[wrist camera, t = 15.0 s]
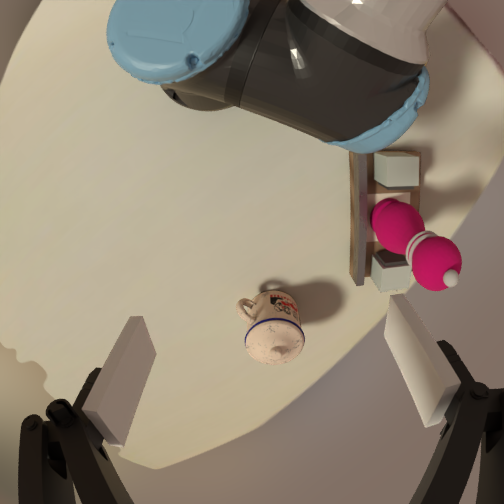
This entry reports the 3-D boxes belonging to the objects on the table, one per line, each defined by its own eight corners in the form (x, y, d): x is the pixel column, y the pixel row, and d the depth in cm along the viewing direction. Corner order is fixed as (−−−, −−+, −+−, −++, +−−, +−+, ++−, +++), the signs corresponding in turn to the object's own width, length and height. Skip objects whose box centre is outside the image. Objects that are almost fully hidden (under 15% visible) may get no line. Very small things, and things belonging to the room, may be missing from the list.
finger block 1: (373, 152, 39) (386, 156, 35) (403, 152, 39) (419, 156, 35) (373, 183, 41) (386, 191, 37) (403, 182, 41) (418, 190, 36)
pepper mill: (416, 210, 43) (491, 269, 24) (391, 247, 45) (451, 321, 27) (383, 185, 41) (456, 235, 23) (357, 225, 44) (411, 296, 26)
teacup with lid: (309, 307, 52) (320, 352, 42) (274, 338, 55) (277, 384, 45) (257, 268, 50) (256, 309, 39) (222, 303, 52) (215, 348, 42)
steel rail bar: (352, 152, 40) (358, 154, 37) (360, 152, 40) (366, 154, 37) (352, 278, 48) (356, 286, 46) (359, 277, 48) (363, 285, 45)
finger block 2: (372, 250, 46) (383, 265, 41) (399, 248, 45) (412, 261, 41) (370, 276, 48) (380, 292, 43) (397, 273, 47) (408, 288, 43)
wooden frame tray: (349, 151, 41) (353, 152, 40) (414, 151, 41) (420, 152, 39) (349, 272, 50) (352, 278, 48) (407, 266, 49) (412, 271, 47)
